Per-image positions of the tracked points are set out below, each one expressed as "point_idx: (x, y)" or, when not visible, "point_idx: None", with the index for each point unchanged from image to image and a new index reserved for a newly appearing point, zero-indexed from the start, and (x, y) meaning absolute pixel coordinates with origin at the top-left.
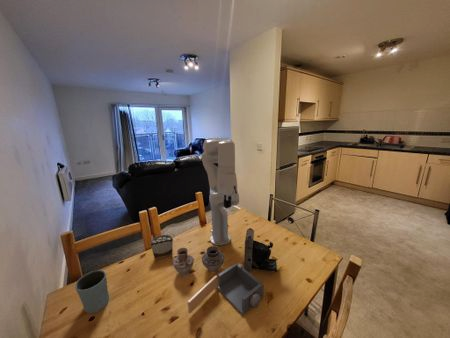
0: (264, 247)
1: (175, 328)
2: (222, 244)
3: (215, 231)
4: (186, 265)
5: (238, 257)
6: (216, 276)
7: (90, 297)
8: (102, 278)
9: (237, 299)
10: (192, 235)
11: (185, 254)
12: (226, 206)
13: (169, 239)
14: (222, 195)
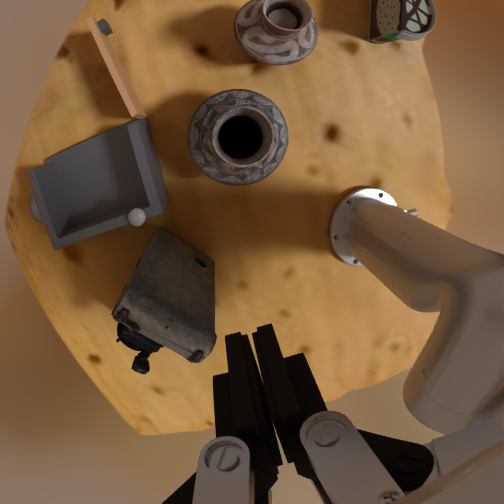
0: (139, 340)
1: (95, 4)
2: (332, 219)
3: (381, 214)
4: (239, 27)
5: (242, 243)
6: (131, 114)
7: None
8: None
9: (79, 162)
10: (432, 145)
11: (264, 17)
12: (230, 357)
13: (407, 24)
14: (374, 453)
